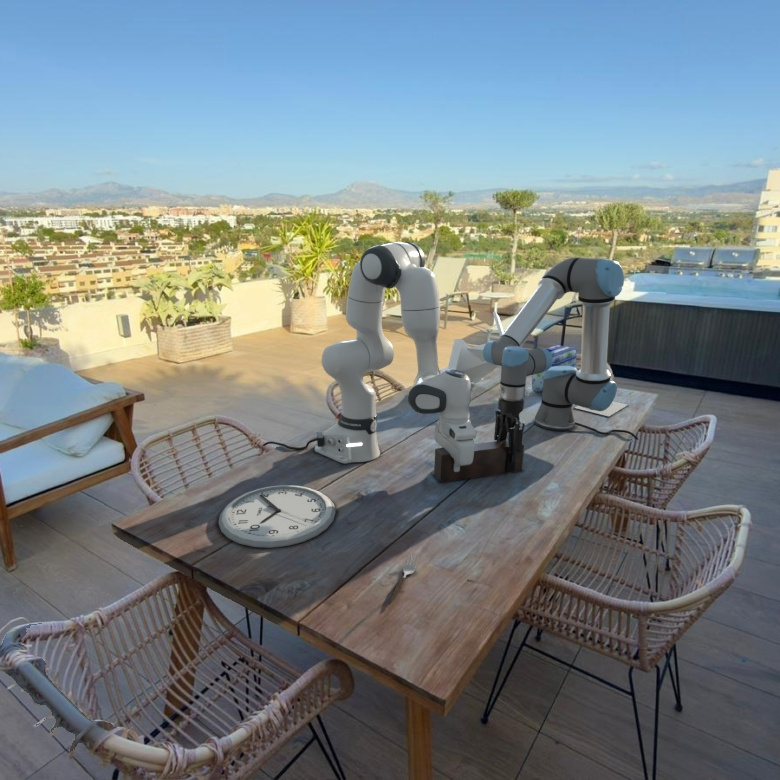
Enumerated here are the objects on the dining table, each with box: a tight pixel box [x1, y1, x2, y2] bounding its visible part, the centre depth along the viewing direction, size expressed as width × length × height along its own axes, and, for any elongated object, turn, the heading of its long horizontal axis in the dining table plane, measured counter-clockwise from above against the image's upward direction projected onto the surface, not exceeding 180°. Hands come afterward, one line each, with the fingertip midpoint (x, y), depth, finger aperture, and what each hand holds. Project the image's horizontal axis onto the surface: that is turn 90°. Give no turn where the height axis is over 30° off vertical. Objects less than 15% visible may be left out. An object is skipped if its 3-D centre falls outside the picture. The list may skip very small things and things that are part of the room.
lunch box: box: [531, 345, 577, 393], centre depth 245 cm, size 26×11×21 cm, turn 134°
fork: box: [388, 554, 419, 606], centre depth 112 cm, size 3×16×2 cm, turn 160°
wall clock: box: [218, 484, 336, 549], centre depth 137 cm, size 30×2×30 cm
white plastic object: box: [439, 310, 531, 397], centre depth 245 cm, size 37×45×31 cm
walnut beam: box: [433, 439, 525, 484], centre depth 162 cm, size 28×5×9 cm, turn 108°
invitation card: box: [573, 400, 629, 418], centre depth 226 cm, size 21×1×15 cm
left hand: (451, 466), depth 159 cm, fingers closed on walnut beam, 5 cm apart
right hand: (505, 467), depth 166 cm, fingers closed on walnut beam, 5 cm apart
